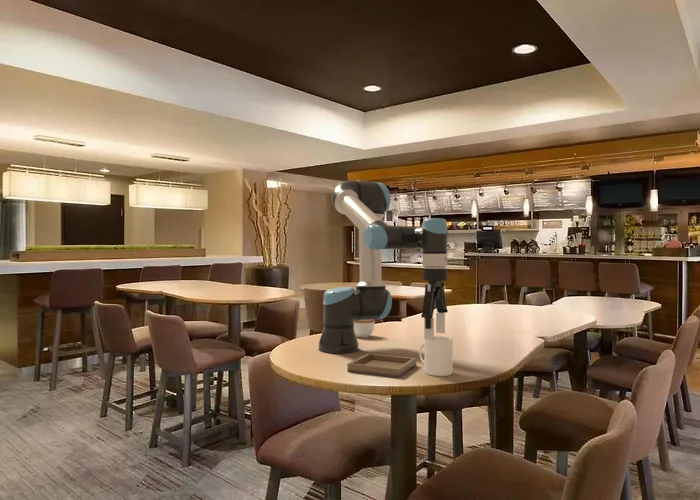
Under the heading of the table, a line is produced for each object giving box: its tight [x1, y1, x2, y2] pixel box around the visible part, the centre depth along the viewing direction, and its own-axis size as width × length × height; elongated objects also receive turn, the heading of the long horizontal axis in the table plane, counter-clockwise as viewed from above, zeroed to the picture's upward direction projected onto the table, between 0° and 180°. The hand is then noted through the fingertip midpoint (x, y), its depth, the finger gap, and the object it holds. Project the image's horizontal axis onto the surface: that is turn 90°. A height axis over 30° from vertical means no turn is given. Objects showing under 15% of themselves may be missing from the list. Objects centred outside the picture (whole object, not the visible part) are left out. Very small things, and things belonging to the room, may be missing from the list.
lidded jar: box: [354, 320, 376, 339], centre depth 219 cm, size 11×11×9 cm
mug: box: [418, 335, 454, 377], centre depth 156 cm, size 9×12×11 cm
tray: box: [346, 353, 417, 379], centre depth 160 cm, size 17×17×2 cm
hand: (435, 336), depth 156 cm, fingers open, 13 cm apart
